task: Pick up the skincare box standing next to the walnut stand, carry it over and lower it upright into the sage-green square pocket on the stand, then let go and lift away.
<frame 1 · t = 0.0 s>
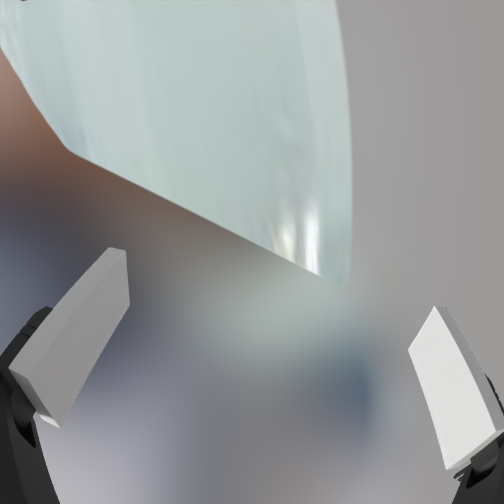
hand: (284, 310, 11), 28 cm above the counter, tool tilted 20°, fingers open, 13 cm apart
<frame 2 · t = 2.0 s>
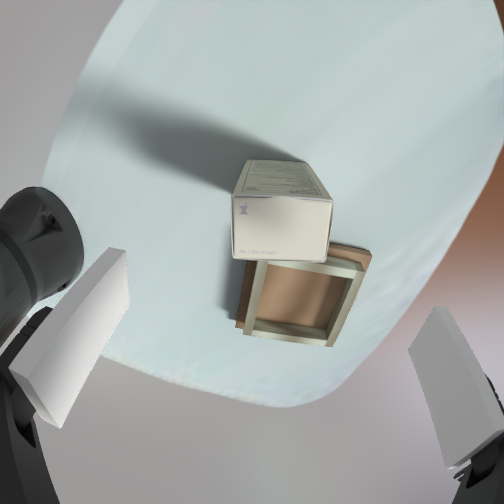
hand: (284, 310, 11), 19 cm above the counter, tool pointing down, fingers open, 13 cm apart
skincare box: (278, 179, 29), on the counter
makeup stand: (299, 289, 34), on the counter
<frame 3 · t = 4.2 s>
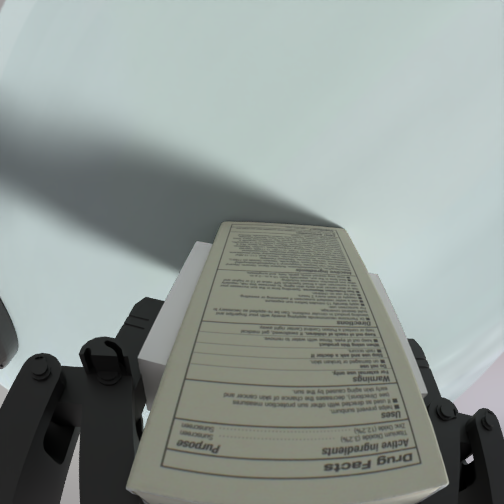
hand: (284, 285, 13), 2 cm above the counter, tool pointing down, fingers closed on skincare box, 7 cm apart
skincare box: (284, 258, 15), on the counter, touching gripper
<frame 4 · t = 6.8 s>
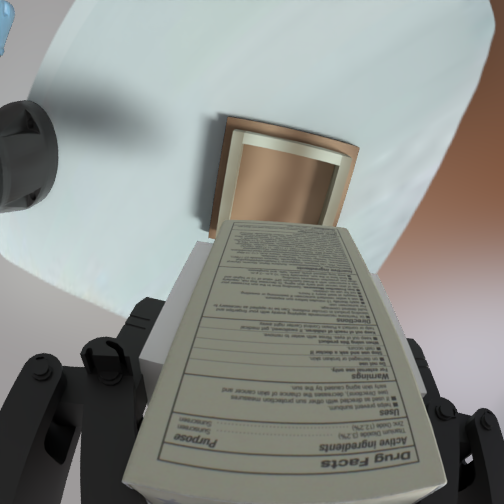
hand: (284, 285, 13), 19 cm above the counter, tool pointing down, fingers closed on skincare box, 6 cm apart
skincare box: (286, 257, 15), point 17 cm above the counter, touching gripper
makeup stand: (280, 190, 30), on the counter
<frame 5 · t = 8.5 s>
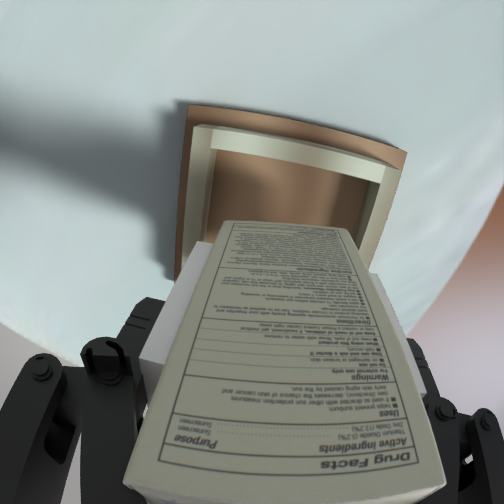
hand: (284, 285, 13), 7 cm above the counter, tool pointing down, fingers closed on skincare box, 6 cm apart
skincare box: (286, 257, 15), point 5 cm above the counter, touching gripper
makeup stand: (280, 220, 19), on the counter
when the fingers open (5 cm above the counter, at t = 9.7 s): skincare box drops 1 cm, resting on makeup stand.
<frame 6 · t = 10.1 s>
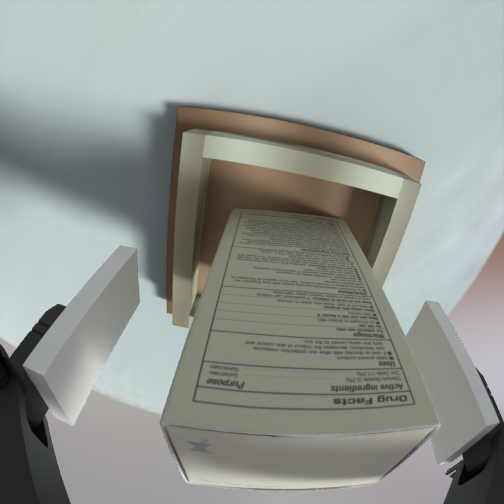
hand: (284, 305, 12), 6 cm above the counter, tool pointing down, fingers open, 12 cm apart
skincare box: (287, 244, 16), point 1 cm above the counter, touching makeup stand
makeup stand: (283, 236, 17), on the counter
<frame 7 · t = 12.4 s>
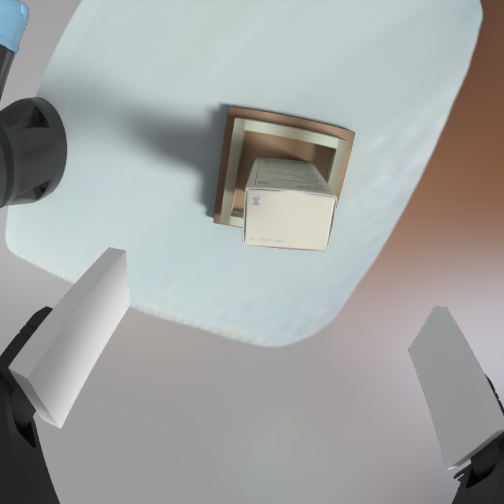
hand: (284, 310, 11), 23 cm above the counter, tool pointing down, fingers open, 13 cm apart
skincare box: (283, 177, 31), point 1 cm above the counter, touching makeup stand
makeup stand: (281, 175, 31), on the counter
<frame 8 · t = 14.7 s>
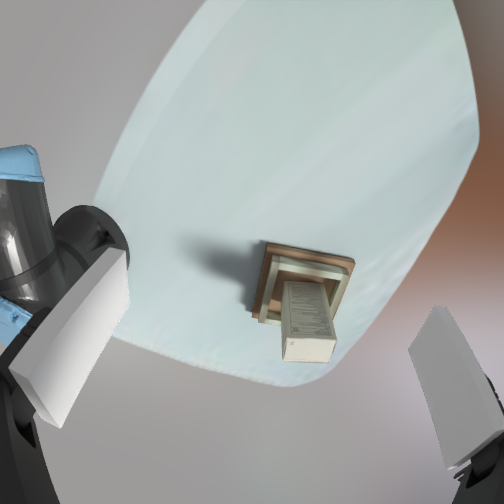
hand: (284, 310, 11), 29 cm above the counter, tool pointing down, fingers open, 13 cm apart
skincare box: (302, 291, 44), point 1 cm above the counter, touching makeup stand
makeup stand: (300, 288, 45), on the counter
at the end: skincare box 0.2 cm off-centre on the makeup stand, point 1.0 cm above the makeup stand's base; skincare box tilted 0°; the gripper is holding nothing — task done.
